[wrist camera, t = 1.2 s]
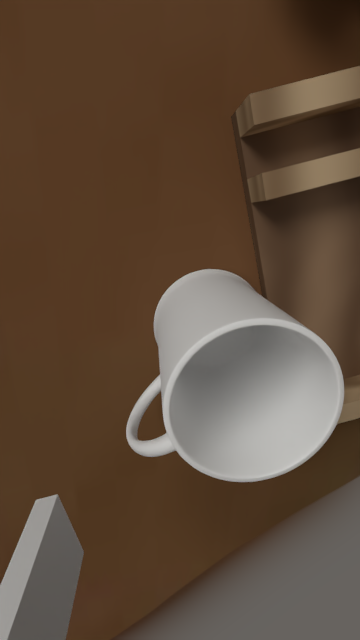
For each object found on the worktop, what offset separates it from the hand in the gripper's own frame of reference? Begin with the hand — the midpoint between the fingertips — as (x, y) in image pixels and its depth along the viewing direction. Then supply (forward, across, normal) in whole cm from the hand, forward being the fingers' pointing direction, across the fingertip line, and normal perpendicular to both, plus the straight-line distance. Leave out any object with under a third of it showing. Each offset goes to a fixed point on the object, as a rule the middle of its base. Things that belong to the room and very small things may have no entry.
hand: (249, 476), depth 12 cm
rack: (+15, +12, +3) cm, 20 cm away
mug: (+15, 0, 0) cm, 15 cm away
